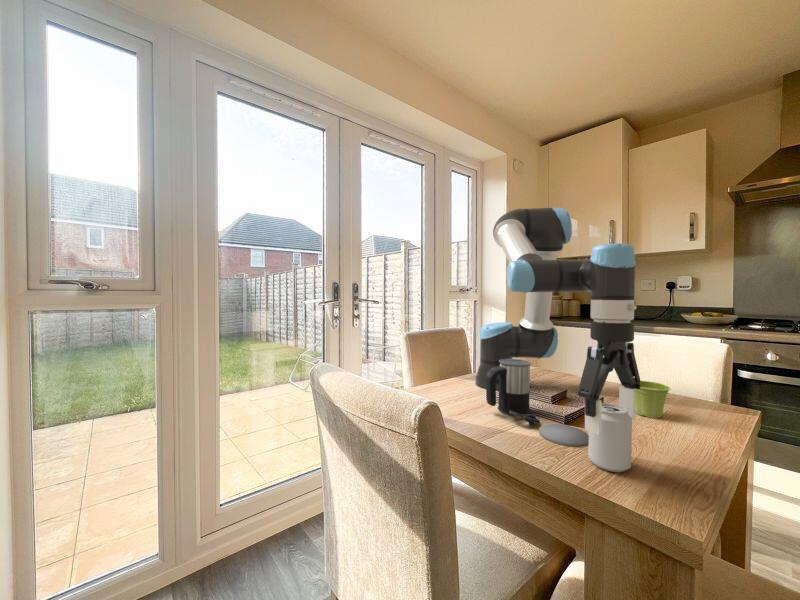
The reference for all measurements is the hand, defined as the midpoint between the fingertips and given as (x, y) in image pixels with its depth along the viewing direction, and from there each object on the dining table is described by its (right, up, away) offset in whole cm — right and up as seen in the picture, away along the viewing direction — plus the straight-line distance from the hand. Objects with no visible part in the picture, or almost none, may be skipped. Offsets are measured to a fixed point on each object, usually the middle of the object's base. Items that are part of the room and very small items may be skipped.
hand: (610, 425), depth 69 cm
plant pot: (+29, -8, +28) cm, 41 cm away
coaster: (-3, -8, +14) cm, 16 cm away
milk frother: (-9, -8, +28) cm, 30 cm away
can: (0, -9, +1) cm, 9 cm away
